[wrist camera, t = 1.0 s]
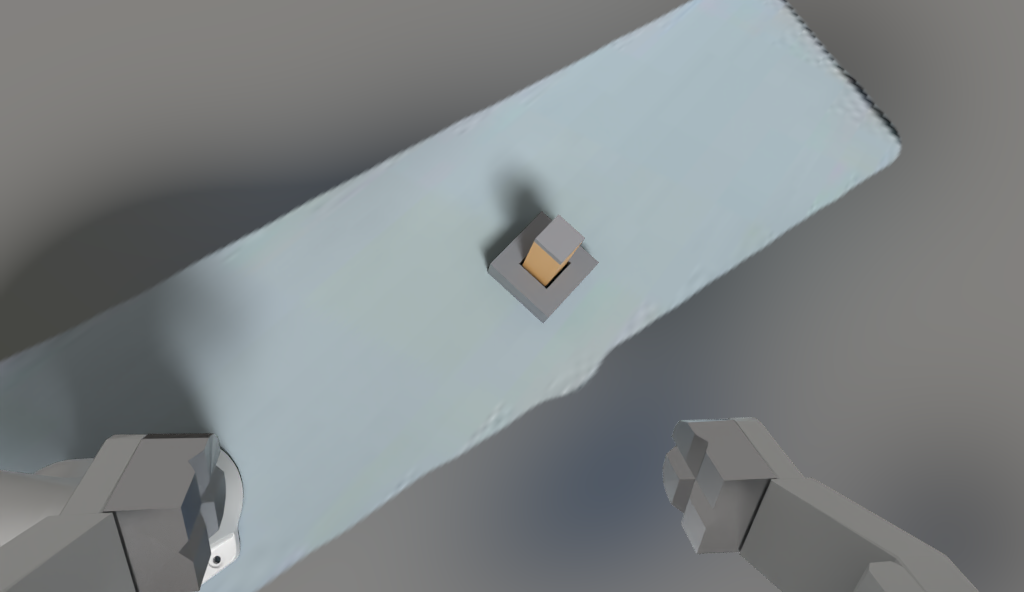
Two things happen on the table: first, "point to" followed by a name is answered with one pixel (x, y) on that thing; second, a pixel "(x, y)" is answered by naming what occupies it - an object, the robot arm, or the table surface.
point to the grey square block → (525, 285)
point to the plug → (552, 250)
